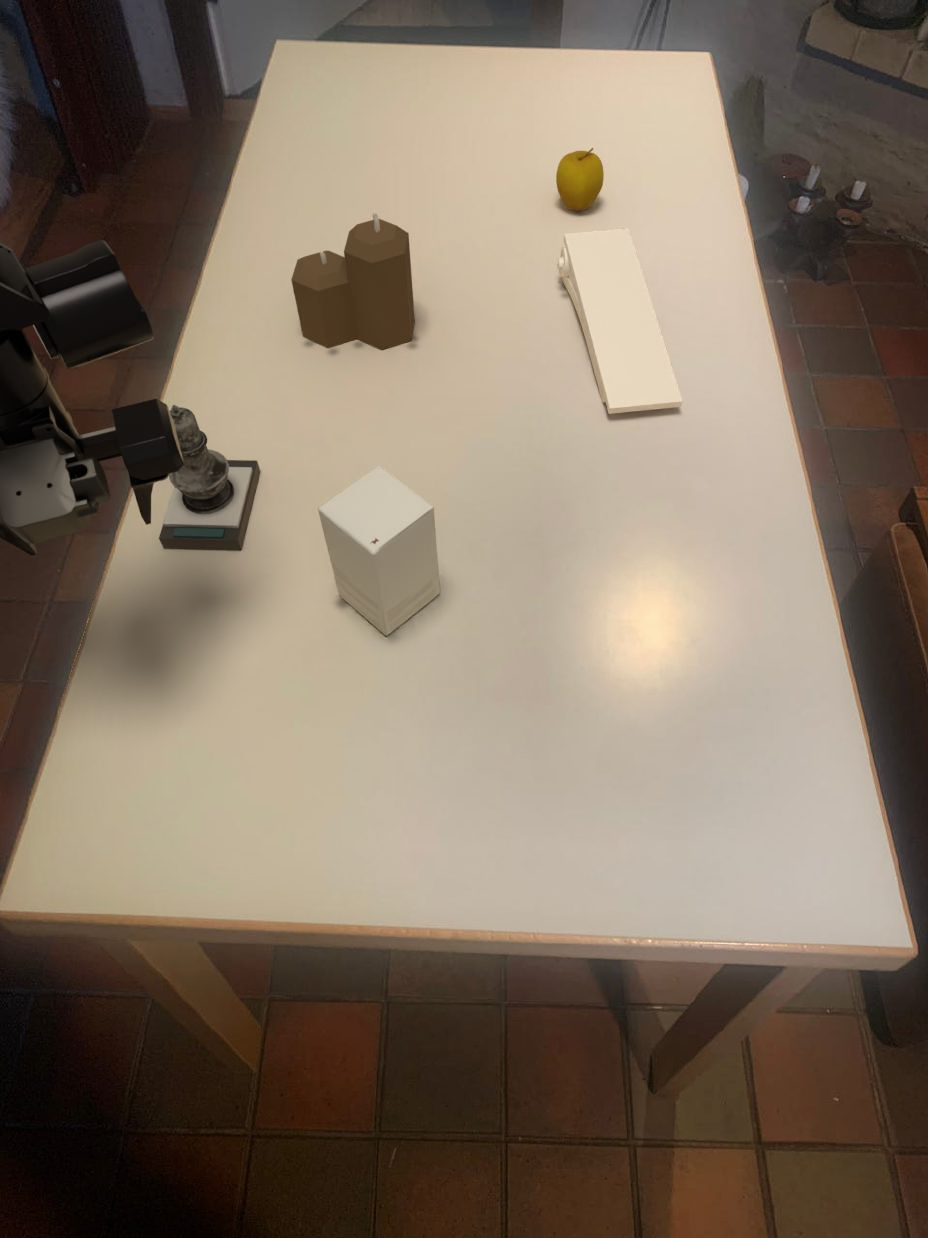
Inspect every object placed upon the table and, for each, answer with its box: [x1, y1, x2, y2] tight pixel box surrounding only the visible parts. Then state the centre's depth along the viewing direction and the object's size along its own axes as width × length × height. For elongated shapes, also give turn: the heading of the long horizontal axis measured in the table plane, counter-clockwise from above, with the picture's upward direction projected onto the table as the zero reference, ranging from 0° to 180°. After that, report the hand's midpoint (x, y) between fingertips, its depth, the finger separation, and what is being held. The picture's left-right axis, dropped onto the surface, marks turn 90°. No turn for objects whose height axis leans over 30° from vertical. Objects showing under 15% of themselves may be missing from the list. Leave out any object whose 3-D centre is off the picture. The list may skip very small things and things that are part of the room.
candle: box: [290, 212, 416, 351], centre depth 99 cm, size 14×14×15 cm
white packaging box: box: [317, 465, 441, 637], centre depth 76 cm, size 7×7×13 cm
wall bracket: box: [556, 227, 683, 415], centre depth 102 cm, size 10×7×28 cm
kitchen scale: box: [158, 459, 261, 551], centre depth 87 cm, size 11×8×2 cm
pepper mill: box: [168, 404, 234, 514], centre depth 81 cm, size 6×6×12 cm
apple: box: [555, 147, 605, 211], centre depth 115 cm, size 6×6×8 cm
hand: (91, 535), depth 69 cm, fingers open, 9 cm apart
